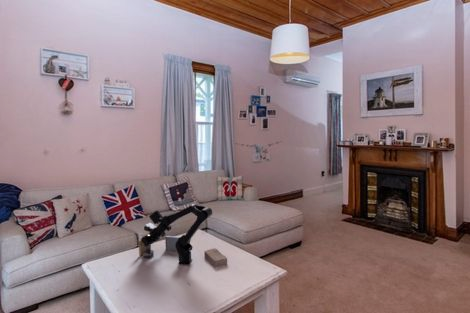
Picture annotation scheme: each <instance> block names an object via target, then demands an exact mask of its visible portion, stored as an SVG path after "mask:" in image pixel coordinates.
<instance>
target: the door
mask: <svg viewBox="0 0 470 313" xmlns="http://www.w3.org/2000/svg"><path fill="white" fill-rule="evenodd" d="M147 235H150V234H149V233H148V234H147ZM144 251H146V246H144V243H143V242H142V241H141V238H140V239H139V240H138V255H139V256H140V257H142V256H143V252H144Z"/></svg>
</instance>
